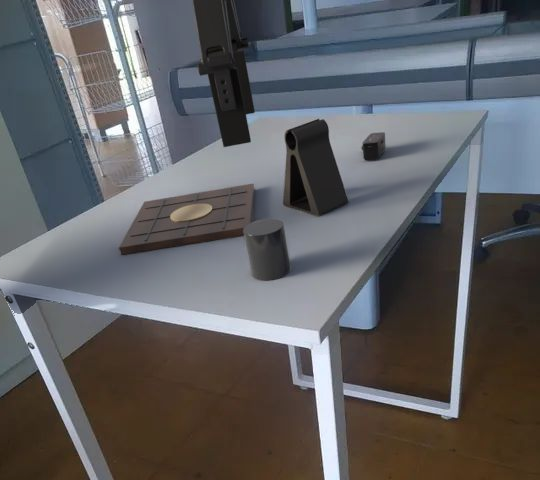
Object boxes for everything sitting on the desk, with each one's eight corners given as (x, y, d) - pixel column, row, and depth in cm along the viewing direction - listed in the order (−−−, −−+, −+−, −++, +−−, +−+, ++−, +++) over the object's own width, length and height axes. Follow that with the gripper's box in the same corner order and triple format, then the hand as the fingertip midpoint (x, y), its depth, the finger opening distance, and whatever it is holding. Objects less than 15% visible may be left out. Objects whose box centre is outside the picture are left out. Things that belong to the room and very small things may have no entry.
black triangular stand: (283, 205, 88) (271, 127, 81) (311, 193, 90) (302, 116, 83) (319, 216, 81) (308, 133, 75) (348, 203, 84) (341, 121, 77)
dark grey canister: (251, 283, 68) (241, 238, 64) (252, 265, 72) (243, 222, 68) (291, 277, 67) (283, 231, 64) (290, 259, 71) (283, 215, 68)
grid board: (121, 255, 82) (118, 246, 82) (146, 208, 99) (143, 200, 98) (251, 234, 80) (249, 225, 80) (254, 189, 97) (253, 182, 96)
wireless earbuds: (387, 148, 103) (386, 130, 101) (377, 161, 98) (376, 142, 96) (363, 150, 105) (362, 132, 103) (352, 162, 100) (351, 144, 98)
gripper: (221, -170, 37) (274, 152, 49) (239, -120, 57) (274, 99, 69) (114, -144, 37) (193, 167, 49) (170, -103, 58) (216, 110, 70)
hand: (240, 128), depth 59 cm, fingers open, 13 cm apart
